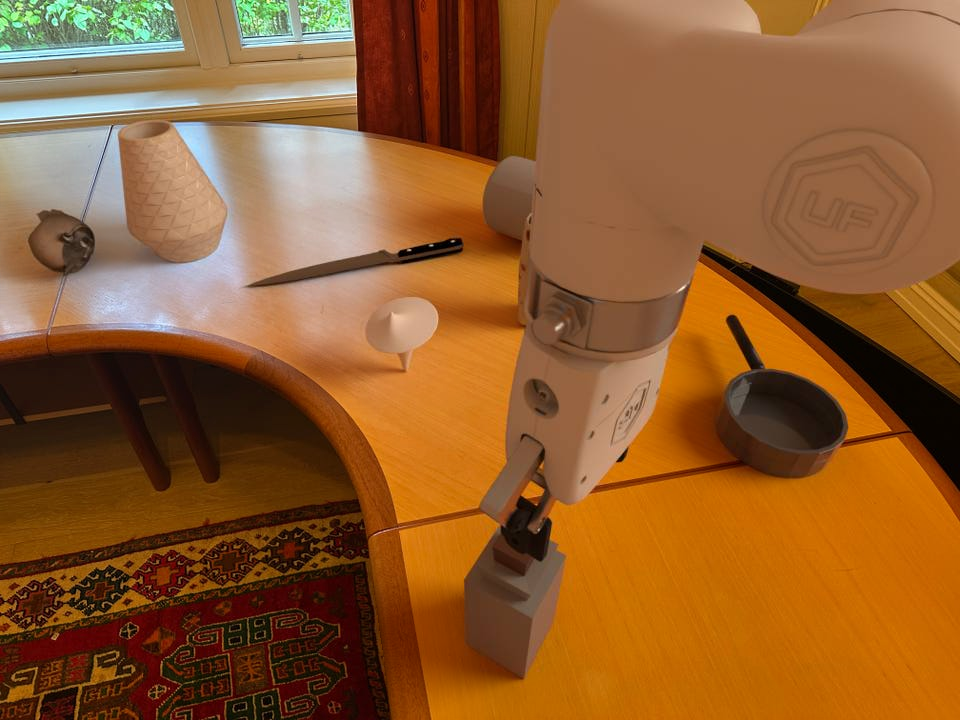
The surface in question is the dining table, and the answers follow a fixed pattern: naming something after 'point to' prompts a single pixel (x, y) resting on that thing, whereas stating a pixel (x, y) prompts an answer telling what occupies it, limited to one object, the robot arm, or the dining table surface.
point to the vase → (168, 193)
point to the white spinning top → (401, 327)
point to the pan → (780, 423)
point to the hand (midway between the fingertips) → (566, 494)
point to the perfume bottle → (511, 603)
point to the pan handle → (744, 343)
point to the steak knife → (370, 260)
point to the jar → (509, 196)
